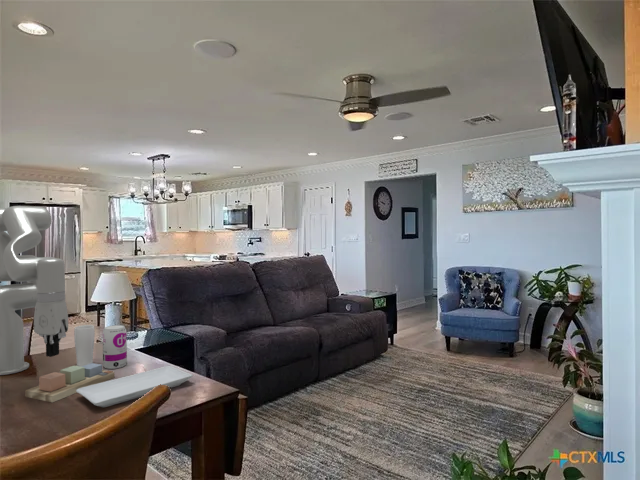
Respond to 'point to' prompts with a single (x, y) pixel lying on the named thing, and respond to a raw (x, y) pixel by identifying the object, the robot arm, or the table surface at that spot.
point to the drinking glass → (84, 344)
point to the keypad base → (68, 388)
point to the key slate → (92, 370)
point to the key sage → (73, 374)
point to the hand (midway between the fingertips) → (52, 355)
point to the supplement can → (114, 347)
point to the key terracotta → (52, 381)
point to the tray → (132, 386)
